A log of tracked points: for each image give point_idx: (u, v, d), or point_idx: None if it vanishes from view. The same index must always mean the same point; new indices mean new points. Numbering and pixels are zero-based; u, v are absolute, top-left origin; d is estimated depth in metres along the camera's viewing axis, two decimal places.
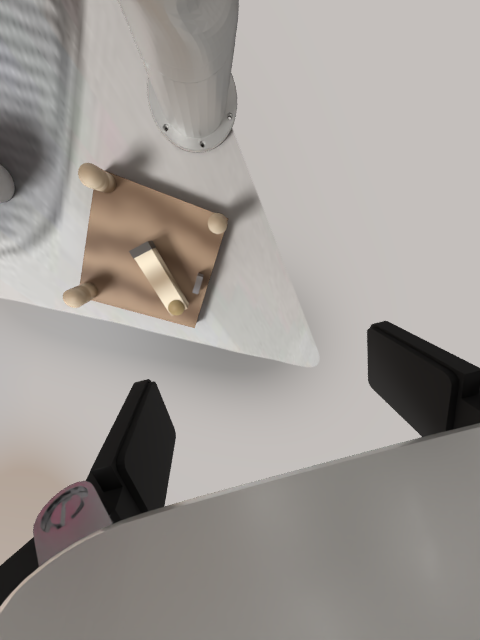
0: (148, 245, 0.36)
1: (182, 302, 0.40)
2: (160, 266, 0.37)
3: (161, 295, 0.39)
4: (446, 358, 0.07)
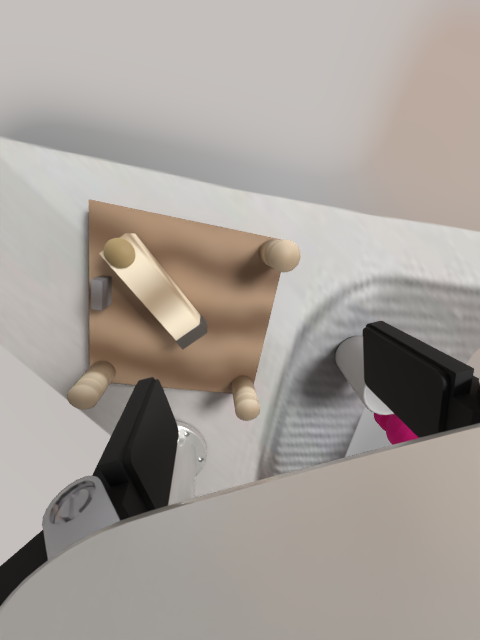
0: (180, 345, 0.25)
1: (111, 264, 0.22)
2: (159, 319, 0.24)
3: (150, 272, 0.23)
4: (439, 357, 0.07)
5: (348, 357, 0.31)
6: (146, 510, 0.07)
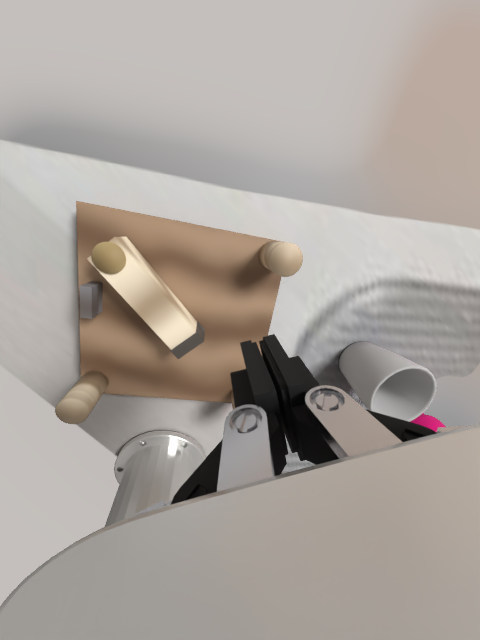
0: (176, 354, 0.24)
1: (100, 270, 0.20)
2: (153, 327, 0.23)
3: (142, 278, 0.21)
4: (287, 371, 0.08)
5: (353, 363, 0.30)
6: None
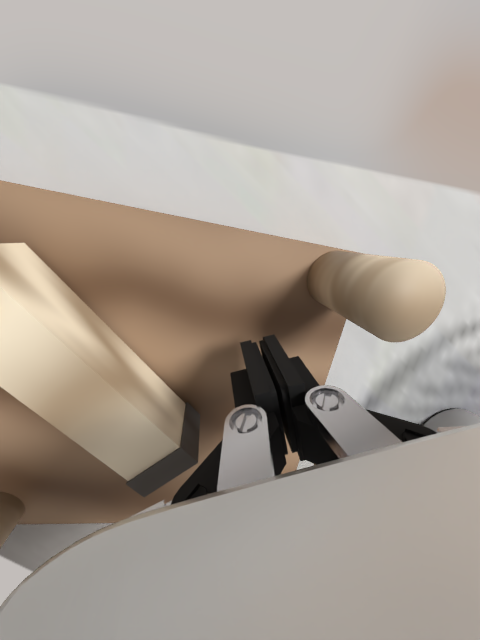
0: (138, 489, 0.11)
1: None
2: (84, 443, 0.10)
3: (47, 345, 0.09)
4: (287, 371, 0.08)
5: None
6: None
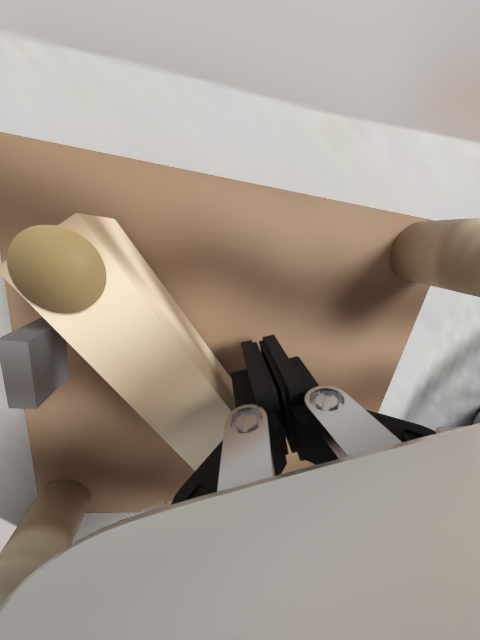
0: None
1: (33, 301, 0.08)
2: (163, 432, 0.10)
3: (147, 326, 0.08)
4: (287, 371, 0.08)
5: None
6: None
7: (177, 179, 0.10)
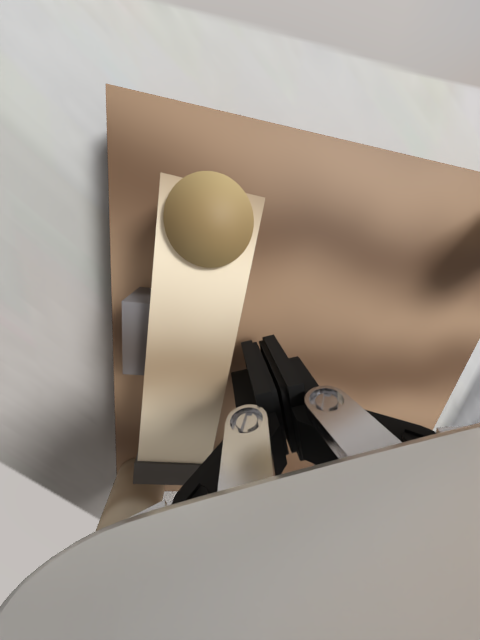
0: (138, 474, 0.10)
1: (162, 224, 0.07)
2: (147, 406, 0.09)
3: (226, 317, 0.08)
4: (287, 371, 0.08)
5: None
6: None
7: (290, 139, 0.10)
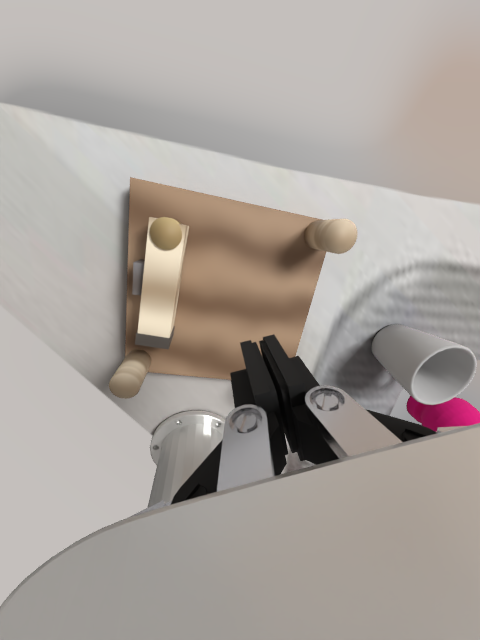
0: (137, 339, 0.23)
1: (149, 233, 0.20)
2: (142, 306, 0.22)
3: (173, 269, 0.22)
4: (287, 371, 0.08)
5: (390, 345, 0.30)
6: None
7: (206, 198, 0.23)
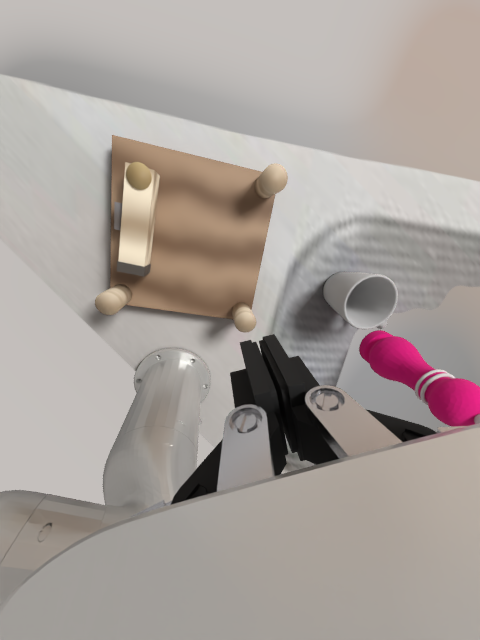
0: (118, 266, 0.29)
1: (126, 175, 0.26)
2: (122, 238, 0.28)
3: (146, 206, 0.27)
4: (287, 371, 0.08)
5: (333, 285, 0.36)
6: None
7: (173, 153, 0.29)
